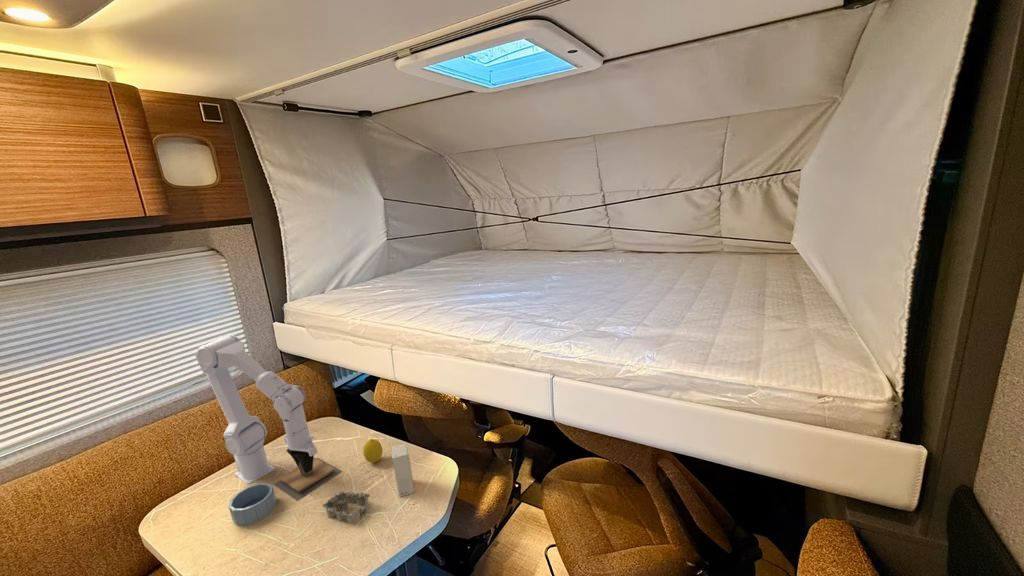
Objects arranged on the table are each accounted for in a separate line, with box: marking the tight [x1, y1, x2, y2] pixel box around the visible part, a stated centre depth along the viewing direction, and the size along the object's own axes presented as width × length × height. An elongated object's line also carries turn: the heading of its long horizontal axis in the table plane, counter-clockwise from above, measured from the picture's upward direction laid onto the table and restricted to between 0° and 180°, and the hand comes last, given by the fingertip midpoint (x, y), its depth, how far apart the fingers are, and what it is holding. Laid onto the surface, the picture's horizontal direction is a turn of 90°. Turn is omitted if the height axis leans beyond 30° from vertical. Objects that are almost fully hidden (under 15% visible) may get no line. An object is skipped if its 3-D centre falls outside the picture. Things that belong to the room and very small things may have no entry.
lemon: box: [363, 438, 383, 464], centre depth 129 cm, size 6×6×8 cm
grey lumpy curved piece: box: [322, 490, 370, 524], centre depth 110 cm, size 11×8×4 cm
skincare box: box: [391, 443, 415, 497], centre depth 116 cm, size 6×4×12 cm
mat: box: [273, 457, 343, 502], centre depth 125 cm, size 14×14×1 cm
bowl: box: [228, 482, 277, 526], centre depth 113 cm, size 10×10×5 cm
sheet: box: [278, 457, 335, 493], centre depth 124 cm, size 11×11×5 cm
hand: (306, 469), depth 124 cm, fingers closed on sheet, 2 cm apart
